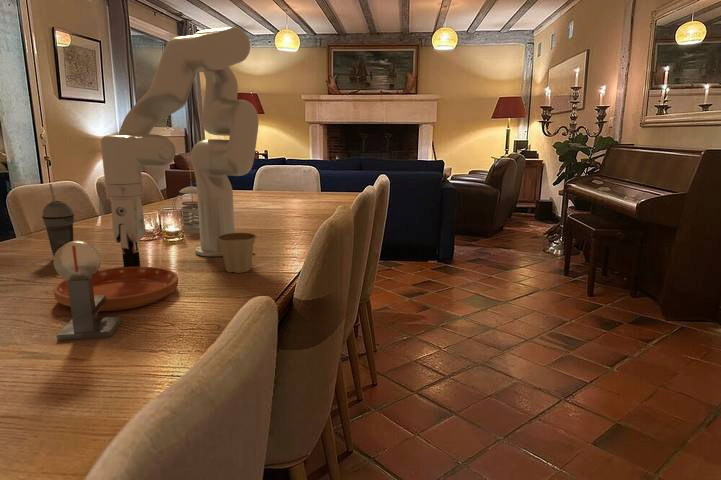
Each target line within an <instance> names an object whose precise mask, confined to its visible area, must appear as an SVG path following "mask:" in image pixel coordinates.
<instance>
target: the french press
mask: <svg viewBox="0 0 721 480" xmlns="http://www.w3.org/2000/svg"><path fill="white" fill-rule="evenodd" d="M186 162H189V164H191V163H192V162H191V157H189V158H186ZM191 171H192V170H191V167H189V175H190V178H192V172H191ZM179 193H180V194H179V195H177V196H175V197H174V198H173V200H172V203H171V204H172V210H173V211H174V210H177V208H176V202H177V201H176V200H177V199H178V198H179V199H180V200H182V199H183V195H182V194H185V195H186V194H189V195H194V194H197V186H193V184H192V181H190V186H187V187H184V188H182V189H181V190H179ZM181 205H183V206H181V207H180V213H181V212H182V221H181V223H182V222H183V231H184V233H183V234H197V233H199V234H200V226H199V211H198V200H196V201H194V199H193V196H191V201H190V200H189V201H182V202H181Z"/></svg>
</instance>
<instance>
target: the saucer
mask: <svg viewBox="0 0 721 480" xmlns="http://www.w3.org/2000/svg"><path fill="white" fill-rule="evenodd" d="M178 276H179V275H178V274H177V273H176V272H175V271H172V270H170V269H167V268H162V267H154V266H140V267H124V266H123V267H122V266H121V267H110V268H103V269H98V271H97V272H96V273H95V274H94V275H93V276H91V277H92V283H93V291H94V296H96V295H106V301H105V305H104V306H103V307H102V309H101V310H100V311H99V312H112V311H113V312H115V311H122V310H123V311H124V310H128V309H133V308H138V307H139V308H140V307H143V306H146V305H149V304H150V305H151V304H152V303H155V302H157V301H159V300H161V299H164V298H165V297H166V296H168V295H169V294H171V293H172V292H174V291H175V290H176V289H177V288H178V287H179V277H178ZM67 281H68V280H67V279H65V278H64V279H63V280H61V281H59V282H58V283H57V284H56V285H55V286H54V287H53V293H54V299H55V301H56V302H57V303H59V304H60V305H61V304H62V305H63V306H67V307H69V308H71V306H70V298H69V291H68V283H67Z"/></svg>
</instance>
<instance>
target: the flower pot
mask: <svg viewBox="0 0 721 480" xmlns="http://www.w3.org/2000/svg"><path fill="white" fill-rule="evenodd" d="M256 238H257V235H256V234H255V233H251V232H235V233H228V234H223V235H220V236H218V237H217V239H218V240H219V243H220V245H221V248H222V253H223V256H222V257H223V262H224V266H225V271H226V272H227V273H235V274H241V273H246V272H249V271H250V270H252V268H253V267H252V265H253V257H254V256H253V254H254V245H255V243H256Z"/></svg>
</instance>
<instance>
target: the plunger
mask: <svg viewBox="0 0 721 480" xmlns="http://www.w3.org/2000/svg"><path fill="white" fill-rule="evenodd" d="M104 305H105V302H104V304H103V305H102V306H101V307H100V308H99V309H98V311H97V312H96V316H97V315H98V314H99V312H101V311H100V310H101V309H102V307H103V306H104Z"/></svg>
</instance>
